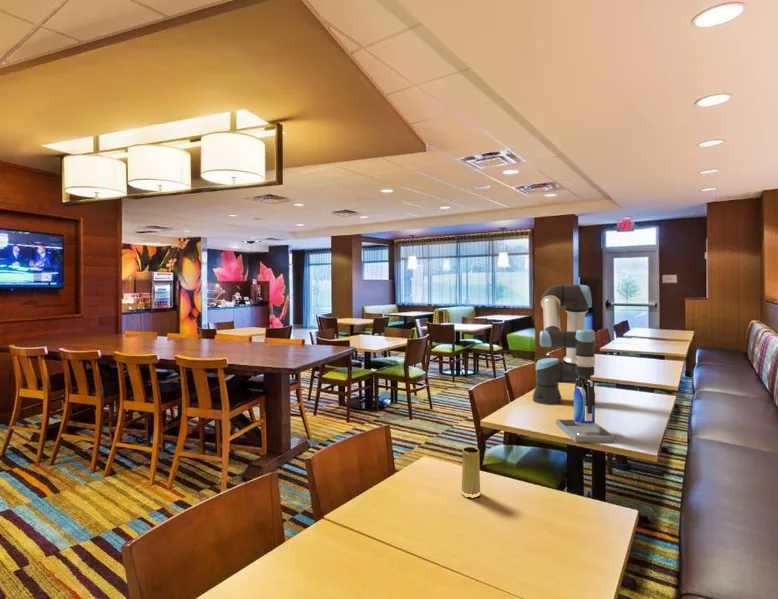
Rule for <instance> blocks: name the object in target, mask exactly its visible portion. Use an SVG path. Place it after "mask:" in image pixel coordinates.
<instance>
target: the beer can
mask: <svg viewBox="0 0 778 599" xmlns="http://www.w3.org/2000/svg"><path fill="white" fill-rule="evenodd" d="M594 393H595V391H594ZM595 394H596V393H595ZM585 404H586V394H585V390H584V389H583V388H582V387H578V386H576V389H575V388H574V391H573V420H574V421H575V423H576V424H577V425H581V426H592V425H593V424H594V423H596V420H595V419H596V405H595V406H592V421H585Z"/></svg>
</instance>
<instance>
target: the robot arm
mask: <svg viewBox="0 0 778 599" xmlns="http://www.w3.org/2000/svg"><path fill="white" fill-rule="evenodd" d="M592 303H593V299H592V293H591V289H590V287H589V285H586V284H557V285H553V286H551V287H549V288H547V289H546V291H544V292H543V294H542V295H541V297H540V306H541V308H542V315H543V316H542V317H543V318H542V319H543V320H542V321H543V330H540V332H539V346H540V347H543V348H559V349H560V348H565V349H566V351H565V352H566V355H565V356H564V357H563V358H562V361H560V359H559V358H556V357H546V358H541V359H539V360H537V361H536V367H535V370H536V372H535V373H536V374H535V378H536V379H535V380H536V381H535V382H536V383H535V388H534V391H533V394H532V401H533V402H536V403H538V404H543V405H559V404H561V403H562V402H563V401H562V400H563V398H562V395H561V392H560V389H559V384H574V390H575V389H576V386H578V387H582V388H583V389H584V390H585V394H586V404H585V421H592V406H595V407H596V393H594V392H595V381H592V378H591V377H592V376H594V375H595V359H596V358H595V351H596V350H595V349H596V348H595V346H596V345H595V344H596V335H595V334H596V333H595V330H594V329H586V328H585V326H586V323H585V322H586V314H587V313H588V312H589V308H592V306H593V304H592ZM560 308H564V311H565V312H566V314H567V317H566V319H567V320H566V321H567V323H566V331H565V330H561V316H560Z"/></svg>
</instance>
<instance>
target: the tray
mask: <svg viewBox="0 0 778 599" xmlns="http://www.w3.org/2000/svg"><path fill="white" fill-rule="evenodd" d="M555 421H556V422H555V426H557V427H558V428H559V429H560V430H561V431H562V432H564V433H565V435H567V436H568V437H569V438H570V439H571V441H572V440H573V442H574V443H616V439H615V438H616V437H615V435H614V434H612V433H611V432H609V431H608V430H607V429H605V428H604V427H603V426H601V425H600V424H599V423H597V422H595V423H594V424H593V425H592V426H581V425H577V424H576V423H575V421H574V419H556V420H555ZM578 432H581V433H582V434H583V435H584V436H576V434H577V433H578Z"/></svg>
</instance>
